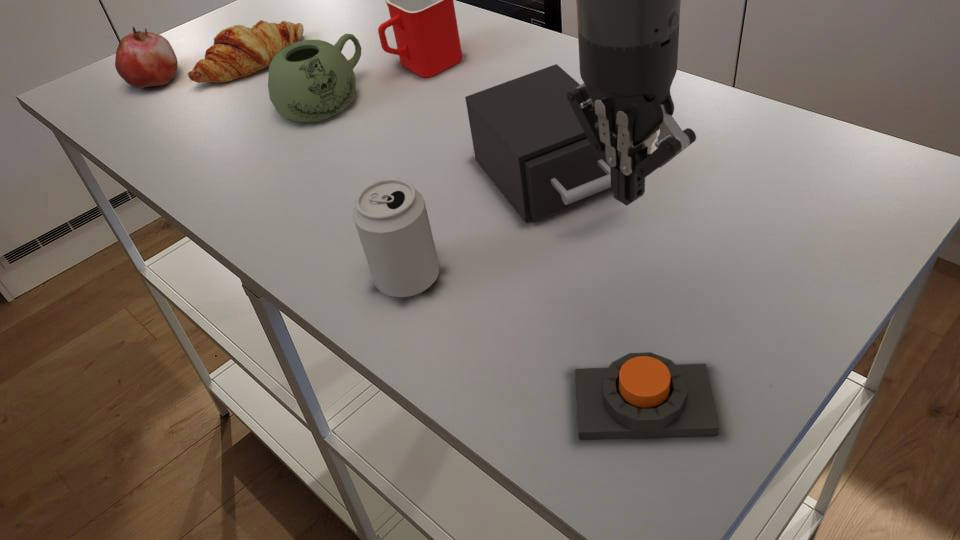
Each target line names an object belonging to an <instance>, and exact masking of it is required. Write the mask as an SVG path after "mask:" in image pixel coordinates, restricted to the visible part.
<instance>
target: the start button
mask: <svg viewBox="0 0 960 540" xmlns="http://www.w3.org/2000/svg"><path fill="white" fill-rule="evenodd" d="M670 380H671V376H670V372H669V370H668V368H667V367H666V365H665V364H664V363H662V362H661V361H660V360H658V359H656V358H653V357H648V356H639V357H634V358H632V359H630V360H628V361H627V362H625V363H624V364H623V366H622V367H621V369H620V372H619V390H620V393H621V395H622V397H623V398H624V399H625V400H626V401H627V402H628V403H630V404H631V405H633V406H636V407H640V408H651V407H655V406H658V405H660V404H661V403H663V402H664V401H665V400H666V399H667V397H668V395H669V392H670Z"/></svg>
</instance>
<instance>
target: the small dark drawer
mask: <svg viewBox="0 0 960 540" xmlns="http://www.w3.org/2000/svg"><path fill="white" fill-rule="evenodd" d="M598 133H599V132H598ZM524 164H525V173H526V182H527V191H528V201H529V210H530V216H531V218H532V219H533V221H534V222H537V221H539V220H542V219H545V218H547V217H549V216H551V215H554V214H557V213H558V212H561V211H564V210H567V209H569V208H571V207H574V206H577V205H579V204H582V203H584V202H586V201H589V200H591V199H594V198H597V197H599V196H601V195H603V194H607V193H609V192H611V191H612V188H611V172H610V166H609V164H608V163H607V161H606V155H605V154H604V153H603V152H600V153H596V152H595V151H594V150H593V148H592V146H591V144H590V142H589V140H588V138H587V137H585V138H583V139H580V140H578V141H575V142H572V143H570V144H567V145H565V146H562V147H559V148H557V149H554V150H552V151H549V152H546V153H544V154H541V155H539V156H536V157H533V158H531V159H528V160H526V161H525V162H524Z"/></svg>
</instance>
